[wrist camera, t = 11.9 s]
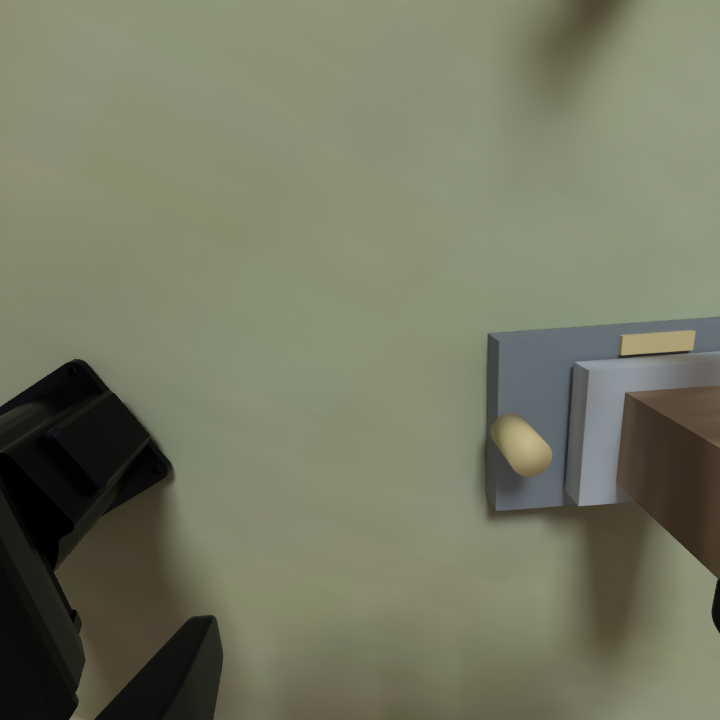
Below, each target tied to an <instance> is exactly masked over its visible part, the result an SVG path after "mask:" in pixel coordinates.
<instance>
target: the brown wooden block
mask: <svg viewBox="0 0 720 720" xmlns="http://www.w3.org/2000/svg"><path fill="white" fill-rule="evenodd" d="M565 491H566V492H567V493H568V494H569V496H570V497H571V498H572V499H573V500H574V502H575V503H576V504H577V505H578V506H589V505H602V504H615V503H628V502H637V503H638V504H639V505H640V506H641V507H642V508H643V509H645V510H646V511H647V512H648V513H649V514H650V515H651V516H652V517H653V518H654V519H655V520H656V521H657V522H658V523H659V524H660V525H662V526H663V527H664V528H665V529H666V530H667V531H668V532H669V533H670V534H671V535H672V536H673V537H674V538H675V539H676V540H677V541H679V542H680V543H681V544H682V545H683V546H684V547H685V548H686V549H687V550H688V551H689V552H690V553H691V554H692V555H693V556H694V557H696V558H697V559H698V560H699V561H700V562H701V563H702V564H703V565H704V566H705V567H706V568H707V569H708V570H709V571H710V572H711V573H713V574H714V575H715V576H716V577H717V578H718V579H719V578H720V351H717V352H703V353H690V354H676V355H662V356H648V357H635V358H621V359H607V360H593V361H579V362H574V371H573V385H572V400H571V415H570V429H569V444H568V458H567V473H566V488H565Z"/></svg>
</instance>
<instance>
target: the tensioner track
mask: <svg viewBox="0 0 720 720" xmlns="http://www.w3.org/2000/svg"><path fill="white" fill-rule="evenodd" d="M717 351H720V317H712V318H698V319H684V320H670V321H656V322H642V323H628V324H614V325H600V326H586V327H572V328H558V329H544V330H530V331H516V332H502V333H488V384H487V459H486V494H487V496H488V497H489V499H490V501H491V503H492V505H493V507H494V509H495V511H504V510H517V509H530V508H543V507H556V506H569V505H577V504H576V503H575V502H574V500H573V499H572V498H571V497H570V496H569V494H568V493H567V492H566V491H565V488H566V473H567V458H568V444H569V429H570V415H571V400H572V385H573V371H574V362H579V361H593V360H607V359H621V358H635V357H648V356H662V355H676V354H690V353H703V352H717Z"/></svg>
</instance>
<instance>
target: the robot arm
mask: <svg viewBox="0 0 720 720" xmlns="http://www.w3.org/2000/svg"><path fill="white" fill-rule="evenodd" d="M73 367H74V368H77V369H78V370H79V372H80V376H78V375H76V374H75V373H74V372H73ZM155 465H157V466H160V467H161V469H162V471H158V470H156V469H155V467H154V466H155ZM170 469H171V464H170V462H169V461H168V460H167V458H166V457H165V456H164V455H163V454H162V452H161V451H160V450H159V449H158V448H157V446H156V445H155V444H154V443H153V442H152V440H151V439H150V438H149V434H148V433H147V432H146V430H145V429H144V428H143V427H142V426H141V424H140V423H139V422H138V421H137V420H136V418H135V417H134V416H133V415H132V414H131V412H130V411H129V410H128V409H127V408H126V406H125V405H124V404H123V403H122V402H121V400H120V399H119V398H118V397H117V396H116V394H115V393H112V392H111V391H110V390H109V389H108V388H107V386H106V385H105V384H104V383H103V382H102V380H101V379H100V378H99V377H98V376H97V374H96V373H95V372H94V371H93V370H92V368H91V367H90V366H89V365H88V364H87V363H86V362H85V361H83V360H80V359H74V360H72V361H70V362H68V363H66V364H64V365H63V366H61V367H60V368H58V369H57V370H55V371H54V372H52V373H50V374H49V375H47V376H46V377H44V378H43V379H41V380H40V381H38V382H37V383H35V384H34V385H32V386H31V387H29V388H28V389H26V390H25V391H23V392H22V393H20V394H19V395H17V396H16V397H14V398H13V399H11V400H10V401H8V402H7V403H5V404H4V405H2V406H1V407H0V720H69V719H70V718H71V716H72V714H73V713H74V711H75V709H76V708H77V706H78V702H79V700H78V697H77V695H76V693H75V692H76V690H77V688H78V686H79V682H80V678H81V675H82V671H83V667H84V664H85V655H84V650H83V645H82V641H81V638H80V636H79V633H80V629H81V626H82V621H81V619H80V617H79V615H78V613H77V611H76V610H72V609H71V607H70V605H69V603H68V600H67V598H66V596H65V594H64V592H63V590H62V588H61V586H60V584H59V582H58V580H57V578H56V576H55V574H54V571H55V570H56V569H57V568H58V567H59V565H60V564H61V563H62V562H63V561H64V559H65V558H66V557H67V556H68V555H69V554H70V552H71V551H72V550H73V549H74V548H75V546H76V545H77V544H78V543H79V542H80V540H81V539H82V538H83V537H84V536H85V535H86V533H87V532H88V531H89V530H90V529H91V527H92V526H93V525H94V524H95V523H96V521H97V520H98V519H99V518H100V517H101V516H102V515H104V514H106V513H107V512H109V511H111V510H112V509H114V508H116V507H117V506H119V505H121V504H122V503H124V502H126V501H127V500H129V499H131V498H132V497H134V496H136V495H137V494H139V493H141V492H142V491H144V490H146V489H147V488H149V487H151V486H152V485H154V484H155V483H157V482H159V481H160V480H162V479H164V478H165V477H166V476H167V474H168V473H169V472H170ZM711 613H712V618H713V622H714V624H715V626H716V628H717V630H718V631H719V633H720V578H719V579H718V580H717V584H716V589H715V594H714V600H713V605H712V612H711ZM222 664H223V650H222V644H221V639H220V634H219V628H218V623H217V620H216V618H215V616H213V615H205V616H194V617H191V618H190V619H189V620H188V621H187V622H186V623H185V624H184V625H183V626H182V627H181V628H180V629H179V630H178V631H177V632H176V633H175V634H174V635H173V636H172V637H171V639H170V640H169V641H168V642H167V643H166V644H165V645H164V646H163V647H162V648H161V649H160V650H159V651H158V652H157V653H156V654H155V656H154V657H153V658H152V659H151V660H150V661H149V662H148V663H147V664H146V665H145V666H144V667H143V668H142V669H141V670H140V671H139V673H138V674H137V675H136V676H135V677H134V678H133V679H132V680H131V681H130V682H129V683H128V684H127V685H126V686H125V687H124V688H123V690H122V691H121V692H120V693H119V694H118V695H117V696H116V697H115V698H114V699H113V700H112V701H111V702H110V703H109V704H108V705H107V707H106V708H105V709H104V710H103V711H102V712H101V713H100V714H99V715H98V716H97V717H96V718H95V719H94V720H213V718H214V712H215V706H216V700H217V694H218V688H219V683H220V677H221V671H222Z"/></svg>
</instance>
